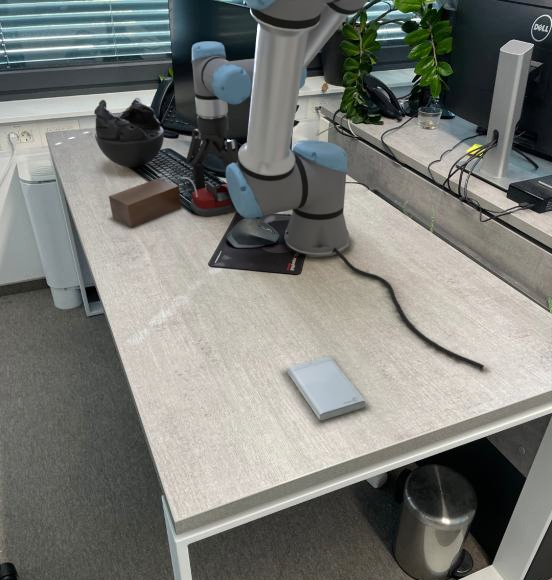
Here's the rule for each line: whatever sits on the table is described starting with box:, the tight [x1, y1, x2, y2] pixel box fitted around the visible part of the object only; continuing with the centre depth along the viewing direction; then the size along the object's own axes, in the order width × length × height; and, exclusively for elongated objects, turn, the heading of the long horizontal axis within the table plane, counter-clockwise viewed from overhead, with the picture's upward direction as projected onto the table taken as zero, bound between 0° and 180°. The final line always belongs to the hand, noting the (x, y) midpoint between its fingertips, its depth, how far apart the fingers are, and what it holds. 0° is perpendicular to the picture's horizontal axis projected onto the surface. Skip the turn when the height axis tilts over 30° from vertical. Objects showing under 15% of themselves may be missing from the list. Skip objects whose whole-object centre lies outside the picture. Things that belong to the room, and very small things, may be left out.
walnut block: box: [108, 177, 182, 228], centre depth 149 cm, size 8×16×6 cm, turn 137°
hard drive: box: [287, 356, 366, 421], centre depth 96 cm, size 2×8×12 cm
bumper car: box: [178, 176, 238, 217], centre depth 150 cm, size 10×20×10 cm, turn 120°
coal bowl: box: [94, 97, 165, 168], centre depth 171 cm, size 20×20×19 cm
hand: (217, 197), depth 152 cm, fingers open, 13 cm apart
